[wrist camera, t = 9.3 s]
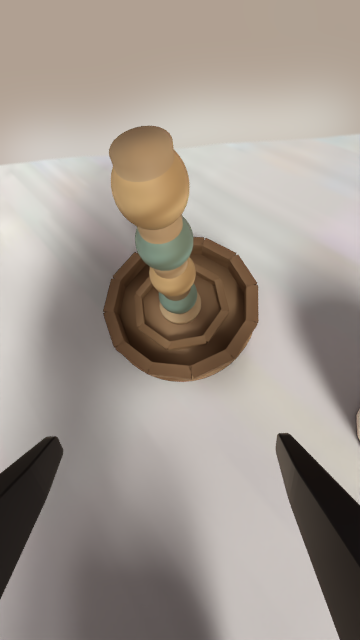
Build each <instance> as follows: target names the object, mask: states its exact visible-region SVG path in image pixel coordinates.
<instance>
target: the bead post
mask: <svg viewBox="0 0 360 640" xmlns="http://www.w3.org/2000/svg"><path fill="white" fill-rule="evenodd" d="M109 156H110V159H111V161H112V164H113V169H112V173H111V189H112V194H113V197H114V200H115V203H116V205H117V207H118V208H119V210H120V212H121V213H122V214H123V215H124V217H125V218H126V219H127V220H129V221H130V222H131V223H133V224H134V225H136V226H137V230H136V235H135V244H136V248H137V251H138V254H139V255H140V257H141V259H142V260H143V261H144V262H145V263H146V264H147V265H148V266H150V270H149V275H150V280H151V283H152V284H153V286H154V287H155V289H156V290H157V291H158V292H159V300H160V310H161V312H162V314H163V316H164V317H165V319H166V320H168V321H169V322H171V323H173V324H178V325H181V324H187V323H189V322H191V321H193V320H194V319H195V318H196V317H197V316H198V314H199V312H200V310H201V298H200V295H199V294H198V292H197V289H196V286H195V284H194V280H195V276H196V270H195V265H194V263H193V261H192V259H191V258H190V257H189V256H190V254H191V252H192V248H193V233H192V230H191V227H190V225H189V224H188V222H187V221H186V219H185V218H184V217H183V216H182V213H183V211H184V209H185V207H186V205H187V201H188V197H189V178H188V173H187V170H186V167H185V165H184V163H183V161H182V159H181V158H180V156H179V155H178V154H177V153H176V151H175V150H174V149H173V141H172V137H171V135H170V134H169V133H168V132H167V131H166V130H164V129H162V128H160V127H156V126H141V127H136V128H133V129H130V130H128V131H126V132H124V133H122V134H121V135H119V136H118V137H117V138H116V139H115V140H114V141H113V143H112V144H111V146H110V149H109Z"/></svg>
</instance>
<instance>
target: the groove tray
mask: <svg viewBox="0 0 360 640" xmlns="http://www.w3.org/2000/svg"><path fill="white" fill-rule="evenodd" d="M137 252H138V251H137ZM189 257H190V258H191V259H192V261H193V263H194V265H195V270H196V276H195V280H194V284H195V286H196V289H197V292H198V294H199V295H200V298H201V310H200V312H199V314H198V316H197V317H196V318H195V319H194V320H193V321H191V322H189V323H187V324H181V325H178V324H173V323H171V322H169V321H168V320H166V319H165V317H164V316H163V314H162V312H161V310H160V300H159V292H158V291H157V290H156V289H155V287H154V286H153V284H152V283H151V280H150V275H149V270H150V266H148V265H147V264H146V263H145V262H144V261H143V260H142V259H141V257H140V255H139V254H138V253H136V252H134V253H133V255H132V256H131V257H130V258H129V259H128V260H127V261H126V262H125V263H124V264H123V266H122V267H121V268H120V269H119V270H118V271H117V272H116V273H115V274H114V275H113V278H114V279H111V282H110V286H109V290H108V294H107V298H106V302H105V306H104V310H103V311H104V312H105V313H103V315H104V318H105V321H106V324H107V327H108V330H109V333H110V336H111V340H112V343H113V346H114V347H115V348H116V350H117V351H118V352H120V353H121V354H122V355H124V356H125V357H126V358H127V359H128V360H129V361H130V362H131V363H132V364H133V365H134V366H136V367H137V368H139V369H140V370H141V371H143V372H145V373H147V374H149V375H151V376H154V377H157V378H160V379H163V380H168V381H177V382H186V381H195V380H199V379H203V378H206V377H209V376H211V375H214V374H216V373H217V372H219V371H221V370H223V369H224V368H225V367H227V366H228V365H229V364H231V363H232V362H233V361H234V360H235V359H236V358H237V357H238V356H239V354H240V353H241V352H242V351H243V349H244V348H245V347H246V345H247V343H248V341H249V339H250V338H251V335H252V332H253V330H254V329H255V327H256V326H257V323H258V285H256V284H257V282H256V280H255V279H254V277H253V276H252V274H251V273H250V272H249V270H248V269H247V267H246V266H245V264H244V263H243V261H242V260H241V258H240V257H239V255H236V253H235V252H233V251H231V250H229V249H227V248H225V247H223V246H221V245H219V244H217V243H215V242H213V241H211V240H209V239H207V238H206V239H205V240H204V237H193V248H192V252H191V254H190V256H189Z"/></svg>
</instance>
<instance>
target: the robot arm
mask: <svg viewBox="0 0 360 640" xmlns="http://www.w3.org/2000/svg"><path fill="white" fill-rule="evenodd" d="M276 454H277V458H278V462H279V465H280V469H281V473H282V477H283V480H284V484H285V488H286V492H287V495H288V499H289V502H290V505H291V508H292V511H293V513H294V516H295V519H296V522H297V524H298V527H299V530H300V532H301V535H302V538H303V541H304V543H305V546H306V549H307V551H308V554H309V557H310V560H311V562H312V565H313V568H314V571H315V573H316V576H317V579H318V581H319V584H320V587H321V590H322V592H323V595H324V598H325V600H326V603H327V606H328V609H329V611H330V614H331V617H332V619H333V622H334V625H335V628H336V630H337V633H338V636H339V639H340V640H360V505H359V504H358V503H357V502H356V501H355V500H354V499H353V498H352V497H351V496H350V495H349V494H348V493H347V492H346V491H345V490H344V489H343V488H342V487H341V486H340V485H339V484H338V483H337V482H336V481H335V480H334V479H333V478H332V476H331V475H330V474H329V473H328V472H327V471H326V470H325V469H324V468H323V467H322V466H321V465H320V464H319V463H318V462H317V461H316V460H315V459H314V458H313V457H312V456H311V455H310V454H309V453H308V452H307V451H306V450H305V449H304V448H303V447H302V446H301V445H300V444H299V443H298V442H297V441H296V440H295V439H294V438H293V437H292V436H291V435H290V434H288V433H279V434H278V435H277V441H276ZM62 455H63V448H62V446H61V444H60V441H59V439H58V438H57V437H56V436H49V437H46V438H44V439H43V440H42V441H40V442H39V443H38V444H37V445H35V446H34V447H33V448H32V449H30V450H29V451H28V452H27V453H25V454H24V455H23V456H22V457H20V458H19V459H18V460H17V461H15V462H14V463H13V464H12V465H10V466H9V467H8V468H7V469H5V470H4V471H3V472H2V473H0V599H1V597H2V594H3V592H4V590H5V588H6V586H7V584H8V581H9V579H10V577H11V575H12V573H13V571H14V568H15V566H16V564H17V562H18V560H19V557H20V555H21V553H22V551H23V549H24V547H25V544H26V542H27V540H28V538H29V536H30V533H31V531H32V529H33V527H34V525H35V523H36V520H37V518H38V516H39V514H40V512H41V510H42V507H43V505H44V503H45V501H46V498H47V496H48V493H49V491H50V488H51V485H52V483H53V480H54V477H55V474H56V472H57V469H58V466H59V463H60V461H61V458H62Z"/></svg>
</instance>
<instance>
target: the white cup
mask: <svg viewBox="0 0 360 640" xmlns="http://www.w3.org/2000/svg"><path fill="white" fill-rule="evenodd" d="M356 418H357V436H358V438H359V440H360V409H359V411H358V413H357V415H356Z"/></svg>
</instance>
